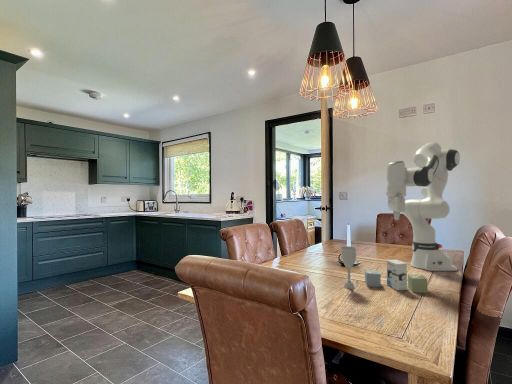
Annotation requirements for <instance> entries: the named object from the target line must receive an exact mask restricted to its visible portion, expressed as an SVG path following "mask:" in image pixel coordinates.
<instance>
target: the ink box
mask: <svg viewBox="0 0 512 384" xmlns="http://www.w3.org/2000/svg"><path fill="white" fill-rule="evenodd" d="M407 265H408V264H407V263H406V262H403V261H401V260H399V259H387V260H386V285H387V286H389V287H390V288H392V289H394V290H395V291H407V290H408V274H407V273H408V272H407V269H408V268H407Z"/></svg>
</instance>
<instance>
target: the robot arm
mask: <svg viewBox="0 0 512 384" xmlns="http://www.w3.org/2000/svg"><path fill="white" fill-rule="evenodd" d="M412 159H413V163H414V164H415V165H416V167H406V165H405V161H403V160H398V161H397V160H396V161H391V162H388V163H387V166H386V167H387V168H386V181H387V184H386V194H385V195H386V197H387V206H388V210H390V211H393V212H392V213H393V219H394V220H395V221H399V220H400V216H401V215H400V214H401V213H402V214H403V216H405V217H406V218H407V219H408V221H409V222H410V224H411V227H412V236H413V237H412V239H413V240H412V244H411V247H412V258H411V262H410V266H411V267H413V268H416V269H421V270H425V271H435V272H436V271H437V272H438V271H440V272H441V271H442V272H444V271H445V272H448V271H450V272H454V271H457V270H458V269H457V266H456V265H453V263H452V259H451V257H450V256H448V254H446V253H445V252H443V251H442V250H441V249H442V248H443V245H442V244H441V243H437V242H436V230H435V227H434V226H433V225H431V224H429V223H428V222H427V219H433V220H435V219H444V218H446V217H448V215H449V213H450V205H449V203H448V202H447V201H446V200H444V199H443V193H444V191H445V189H446V186H447V183H448V178H449V172H451V171H453V169H455V168H456V167H457V166H458V165H459V164H460V160H461V156H460V152H459V151H458V150H457V149H442V146H441V145H440V144H439V143H437V142H435V141H431V142H428V143H426V144H423V145H422V146H421V147H419V149H418V150H416V152H415V153H414V154H413V156H412ZM407 187H421V188H420V193H421V194H422V196H424V197H425V198H410V199H406V198H405V197H406V196H407Z"/></svg>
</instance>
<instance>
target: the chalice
mask: <svg viewBox="0 0 512 384" xmlns="http://www.w3.org/2000/svg"><path fill="white" fill-rule="evenodd" d="M340 249H341V260H342V262H343V264H344V266H345V268H347V276H346V277H347V280H346V281H345V282H344V284H343V288H345V289H347V290H348V289H349V290H354V289H355V288H356V286H355V284H354V282H353V281H351V277H352V276H351V273H352V272H351V269H352V268H353V267H354V265H355V262H356V260H357V249H358V248H357V247H355V246H340Z"/></svg>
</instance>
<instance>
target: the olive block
mask: <svg viewBox="0 0 512 384" xmlns="http://www.w3.org/2000/svg"><path fill="white" fill-rule="evenodd" d="M407 289H409V290H410V291H411V292H412V293H424V294H427V293H428V278H427V277H426V276H424V275H423V274H407Z"/></svg>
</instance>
